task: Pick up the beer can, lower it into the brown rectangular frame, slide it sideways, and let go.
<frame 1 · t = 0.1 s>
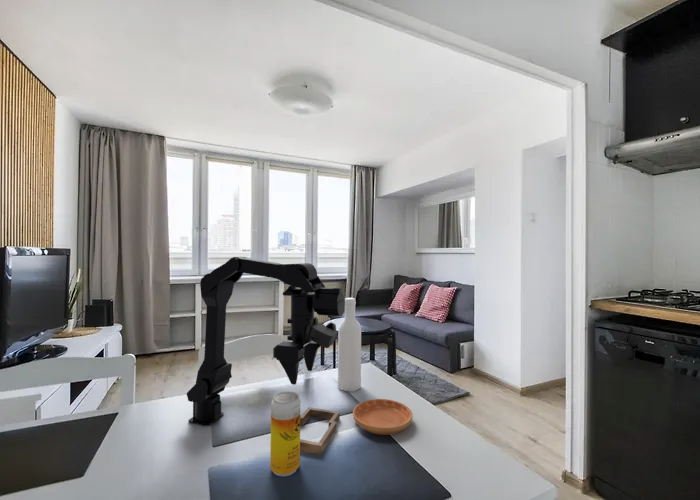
hand: (302, 377, 81), 15 cm above the table, tool pointing down, fingers open, 9 cm apart
saucer: (382, 423, 88), on the table
beer can: (285, 469, 69), on the table
brown rectangular frame: (313, 431, 83), on the table
bottle: (349, 387, 111), on the table
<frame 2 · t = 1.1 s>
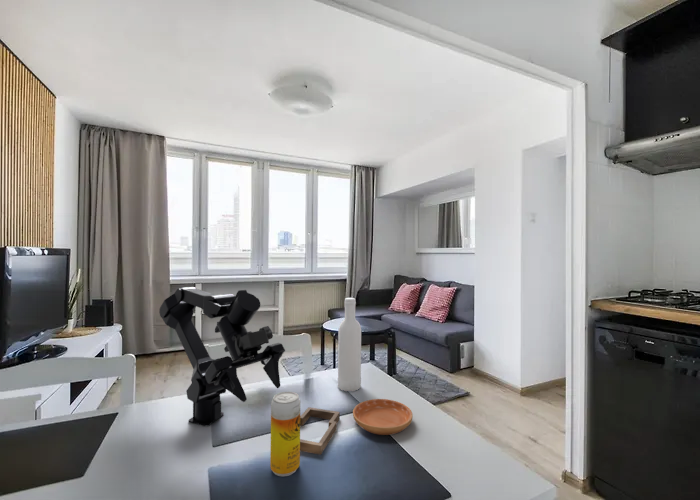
hand: (262, 393, 74), 13 cm above the table, tool tilted 45°, fingers open, 9 cm apart
nothing on the table moved.
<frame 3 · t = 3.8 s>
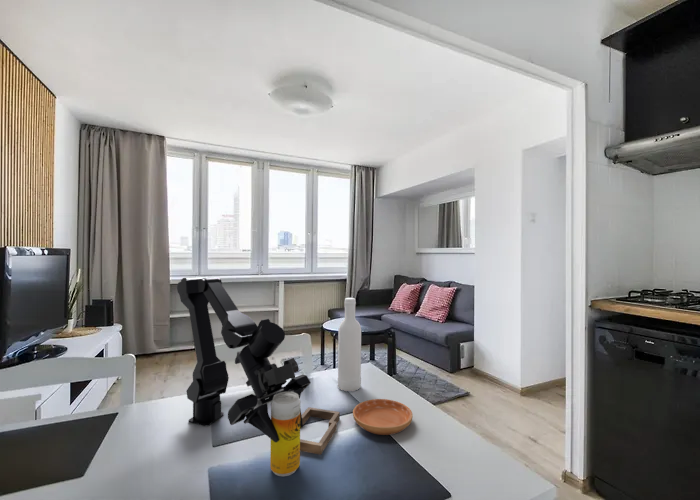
hand: (289, 434, 68), 8 cm above the table, tool tilted 45°, fingers closed on beer can, 6 cm apart
beer can: (285, 469, 69), on the table, touching gripper
everything else where it was.
when the fingers open (8 cm above the table, at t = 10.6 s): beer can stays where it is, resting in brown rectangular frame.
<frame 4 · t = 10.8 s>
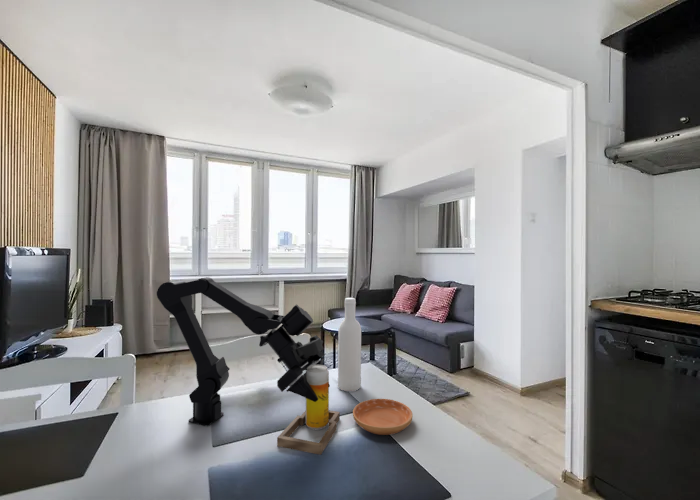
hand: (323, 393, 86), 8 cm above the table, tool tilted 45°, fingers open, 8 cm apart
beer can: (317, 425, 86), resting in brown rectangular frame
everything else where it was.
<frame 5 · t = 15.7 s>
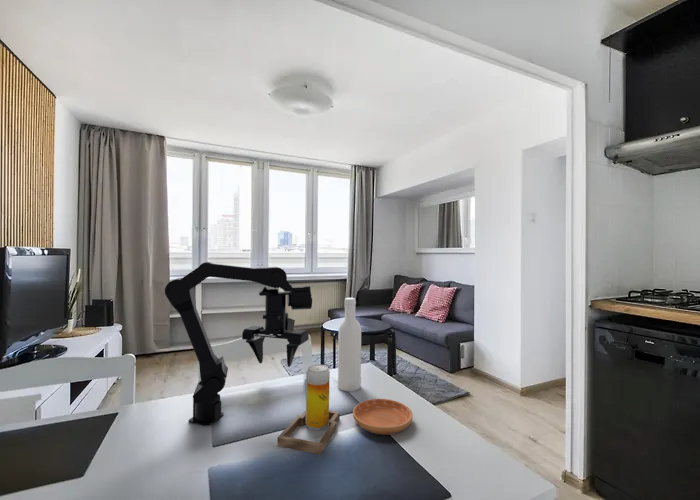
hand: (274, 364, 94), 13 cm above the table, tool pointing down, fingers open, 9 cm apart
nothing on the table moved.
at the end: beer can 0.2 cm from the target spot on the brown rectangular frame, point 0.0 cm above the brown rectangular frame's base; beer can tilted 1°; the gripper is holding nothing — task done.
